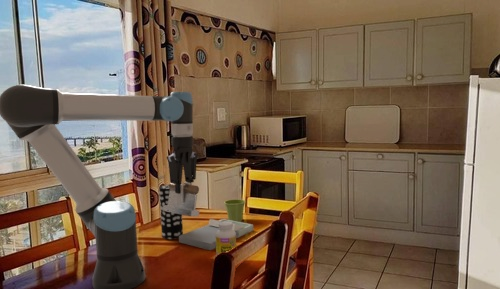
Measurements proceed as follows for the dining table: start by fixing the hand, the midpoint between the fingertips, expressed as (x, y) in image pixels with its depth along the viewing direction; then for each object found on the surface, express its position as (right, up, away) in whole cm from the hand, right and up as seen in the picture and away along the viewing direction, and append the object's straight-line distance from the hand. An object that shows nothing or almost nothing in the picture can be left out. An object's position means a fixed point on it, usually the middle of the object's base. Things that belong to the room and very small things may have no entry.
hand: (183, 201), depth 148 cm
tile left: (+11, -14, +21) cm, 27 cm away
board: (+8, -16, +11) cm, 21 cm away
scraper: (-1, -4, -1) cm, 5 cm away
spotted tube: (-7, -16, +17) cm, 25 cm away
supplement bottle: (+16, -19, -10) cm, 27 cm away
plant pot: (+17, -14, +35) cm, 42 cm away
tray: (+16, -15, +21) cm, 31 cm away
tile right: (+17, -14, +16) cm, 27 cm away
